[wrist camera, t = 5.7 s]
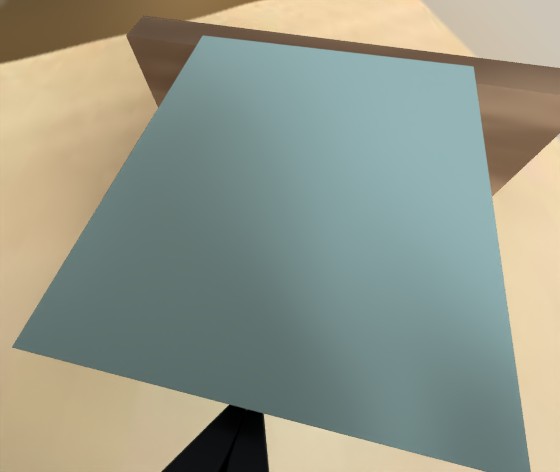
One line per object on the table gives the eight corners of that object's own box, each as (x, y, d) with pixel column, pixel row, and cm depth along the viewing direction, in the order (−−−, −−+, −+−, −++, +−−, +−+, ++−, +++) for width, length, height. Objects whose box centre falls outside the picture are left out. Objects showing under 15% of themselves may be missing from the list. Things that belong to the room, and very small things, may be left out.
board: (491, 196, 19) (595, 99, 12) (172, 138, 21) (126, 35, 15) (489, 172, 19) (584, 71, 13) (182, 120, 22) (143, 15, 16)
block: (396, 433, 13) (532, 483, 6) (146, 369, 14) (11, 347, 7) (404, 185, 19) (473, 66, 12) (230, 157, 21) (202, 35, 14)
